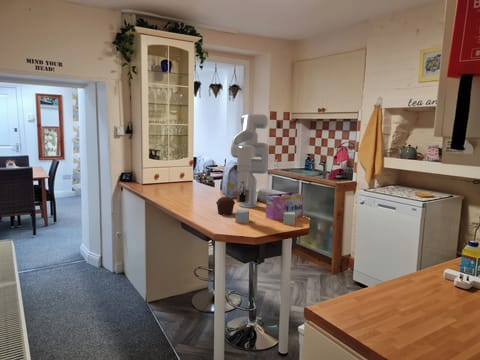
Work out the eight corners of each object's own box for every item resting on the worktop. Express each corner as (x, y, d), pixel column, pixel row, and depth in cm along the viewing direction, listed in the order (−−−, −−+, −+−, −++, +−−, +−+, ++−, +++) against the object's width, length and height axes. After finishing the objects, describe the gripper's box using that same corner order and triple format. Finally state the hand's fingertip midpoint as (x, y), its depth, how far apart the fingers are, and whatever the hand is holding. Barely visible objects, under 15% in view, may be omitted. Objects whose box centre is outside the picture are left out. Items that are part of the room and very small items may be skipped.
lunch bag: (248, 198, 267) (249, 162, 263) (226, 198, 263) (226, 162, 259) (241, 192, 289) (242, 159, 285) (220, 193, 285) (221, 159, 281)
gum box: (296, 213, 226) (297, 192, 224) (304, 216, 219) (306, 194, 217) (265, 217, 214) (266, 194, 212) (273, 220, 207) (274, 197, 205)
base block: (236, 219, 207) (237, 209, 206) (248, 220, 206) (249, 210, 205) (235, 222, 200) (235, 212, 199) (247, 223, 199) (248, 212, 198)
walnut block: (238, 200, 204) (238, 189, 203) (248, 200, 204) (249, 190, 203) (236, 202, 198) (237, 191, 197) (247, 202, 198) (248, 192, 197)
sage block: (283, 221, 205) (283, 211, 204) (294, 222, 205) (294, 211, 204) (283, 224, 199) (284, 213, 198) (294, 225, 199) (295, 214, 198)
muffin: (222, 216, 212) (222, 199, 210) (212, 212, 221) (212, 196, 219) (238, 214, 219) (239, 197, 217) (228, 210, 228) (228, 194, 226)
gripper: (239, 166, 207) (238, 197, 210) (235, 169, 190) (234, 203, 193) (252, 167, 206) (250, 198, 209) (249, 170, 189) (248, 204, 192)
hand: (242, 200), depth 201 cm, fingers closed on walnut block, 6 cm apart
